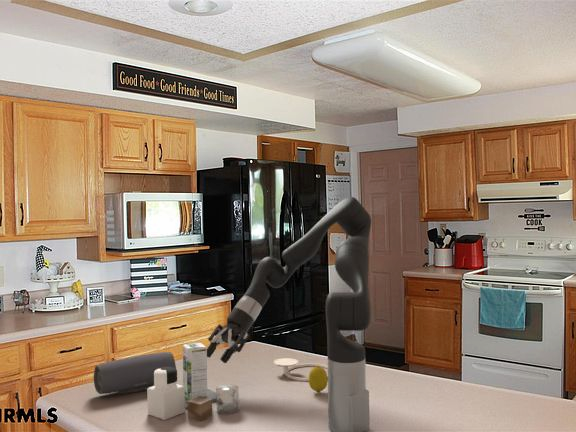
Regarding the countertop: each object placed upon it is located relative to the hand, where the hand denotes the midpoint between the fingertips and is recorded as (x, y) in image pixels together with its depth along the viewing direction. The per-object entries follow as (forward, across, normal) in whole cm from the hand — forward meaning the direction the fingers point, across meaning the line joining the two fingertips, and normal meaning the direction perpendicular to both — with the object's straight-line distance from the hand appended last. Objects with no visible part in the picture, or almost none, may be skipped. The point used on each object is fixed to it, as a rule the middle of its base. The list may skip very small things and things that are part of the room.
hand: (214, 358), depth 162 cm
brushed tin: (+11, -14, -3) cm, 18 cm away
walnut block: (+17, -13, +2) cm, 21 cm away
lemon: (-8, -21, -23) cm, 32 cm away
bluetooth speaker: (+18, +19, +4) cm, 27 cm away
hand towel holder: (-14, -5, -30) cm, 34 cm away
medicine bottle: (+20, -5, +6) cm, 22 cm away
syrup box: (+12, 0, -2) cm, 12 cm away
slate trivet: (+12, 0, -2) cm, 12 cm away
